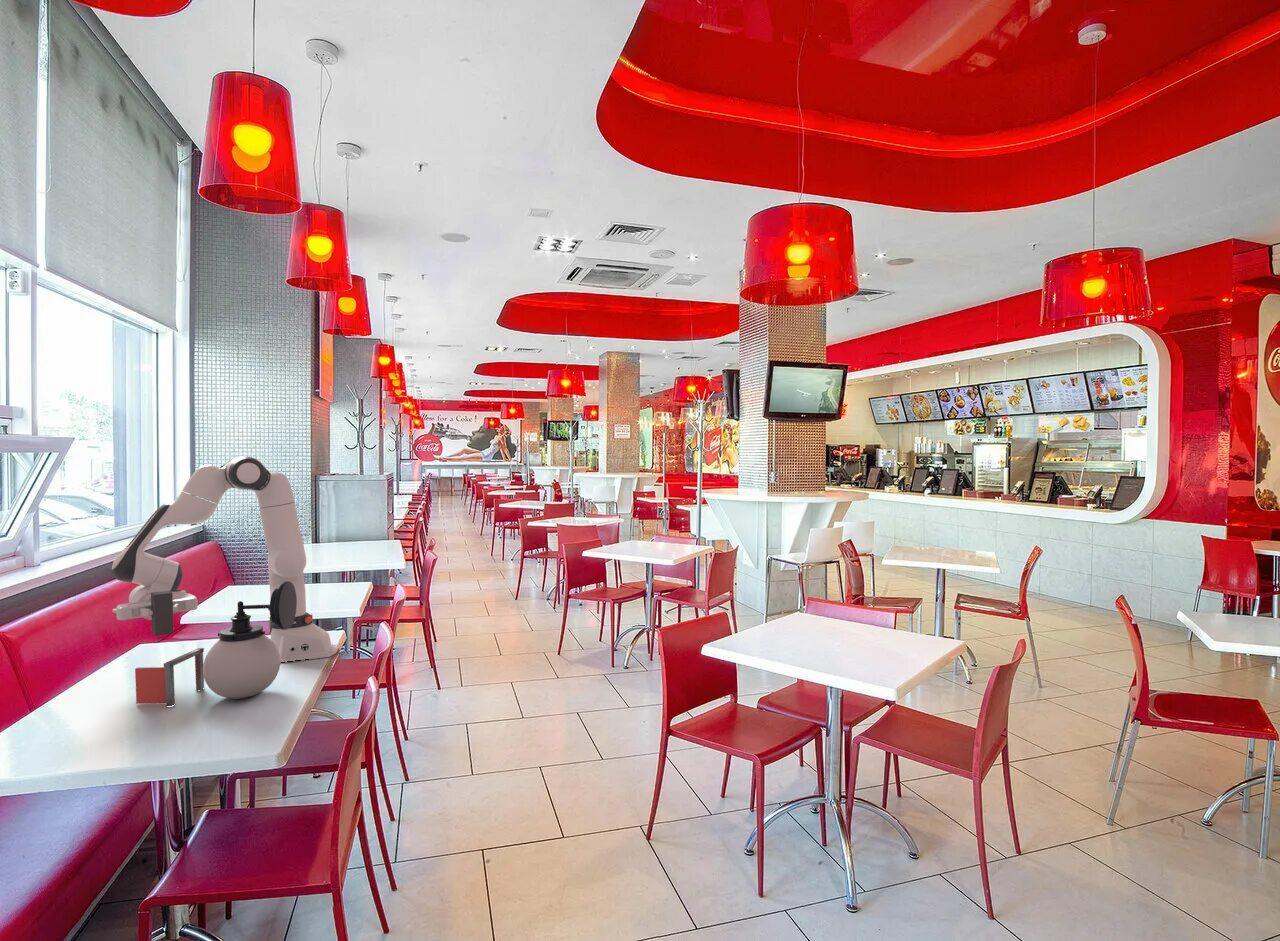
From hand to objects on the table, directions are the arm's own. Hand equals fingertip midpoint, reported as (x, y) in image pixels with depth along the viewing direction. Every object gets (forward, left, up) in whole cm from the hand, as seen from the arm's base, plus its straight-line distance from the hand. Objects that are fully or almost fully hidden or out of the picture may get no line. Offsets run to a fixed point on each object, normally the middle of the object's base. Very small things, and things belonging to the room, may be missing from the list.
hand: (162, 611), depth 211 cm
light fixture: (-24, +7, -25) cm, 36 cm away
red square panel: (0, +7, -24) cm, 26 cm away
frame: (-6, +4, -25) cm, 26 cm away
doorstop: (0, -1, -7) cm, 7 cm away
